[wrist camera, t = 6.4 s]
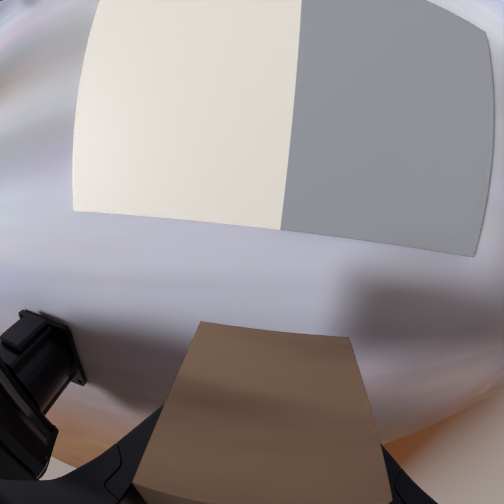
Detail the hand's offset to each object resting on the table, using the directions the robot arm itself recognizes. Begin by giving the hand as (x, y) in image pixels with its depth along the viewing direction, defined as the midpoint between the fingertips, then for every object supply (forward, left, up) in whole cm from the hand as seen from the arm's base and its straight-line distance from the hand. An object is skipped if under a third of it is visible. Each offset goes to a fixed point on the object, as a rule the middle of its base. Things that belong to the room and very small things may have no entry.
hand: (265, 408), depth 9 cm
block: (0, 0, -1) cm, 1 cm away
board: (+12, 0, -7) cm, 14 cm away
